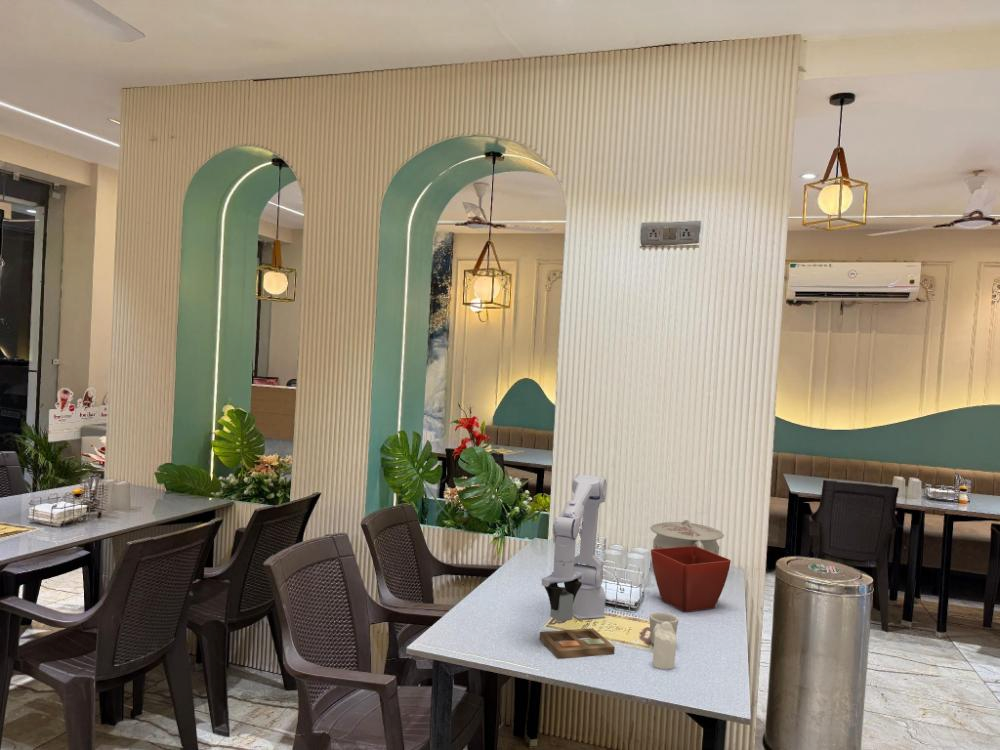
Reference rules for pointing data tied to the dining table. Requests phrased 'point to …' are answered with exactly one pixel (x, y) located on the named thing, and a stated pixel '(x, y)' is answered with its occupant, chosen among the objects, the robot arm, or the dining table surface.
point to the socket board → (576, 643)
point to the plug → (563, 607)
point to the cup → (660, 618)
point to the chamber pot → (686, 536)
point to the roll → (664, 647)
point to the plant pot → (689, 576)
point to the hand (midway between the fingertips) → (561, 607)
